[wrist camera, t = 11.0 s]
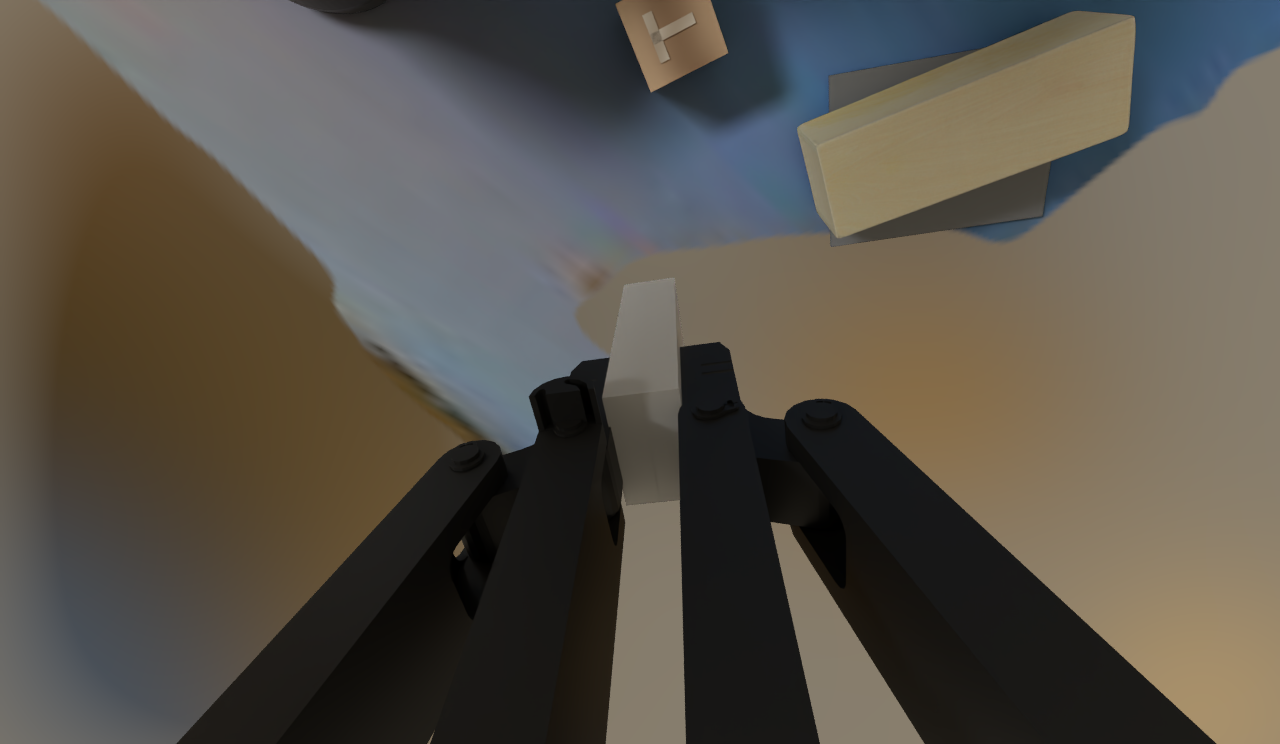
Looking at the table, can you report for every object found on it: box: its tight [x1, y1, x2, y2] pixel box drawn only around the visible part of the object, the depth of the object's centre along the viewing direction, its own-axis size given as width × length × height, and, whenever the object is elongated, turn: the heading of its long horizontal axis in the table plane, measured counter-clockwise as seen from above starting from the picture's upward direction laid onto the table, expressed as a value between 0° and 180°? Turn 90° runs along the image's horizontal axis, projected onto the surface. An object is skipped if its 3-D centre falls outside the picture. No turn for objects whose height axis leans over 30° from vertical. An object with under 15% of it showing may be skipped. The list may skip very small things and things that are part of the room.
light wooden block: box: [797, 11, 1136, 238], centre depth 44 cm, size 8×7×21 cm
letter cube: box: [615, 0, 728, 92], centre depth 42 cm, size 6×6×6 cm
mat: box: [829, 48, 1051, 247], centre depth 48 cm, size 18×14×1 cm
